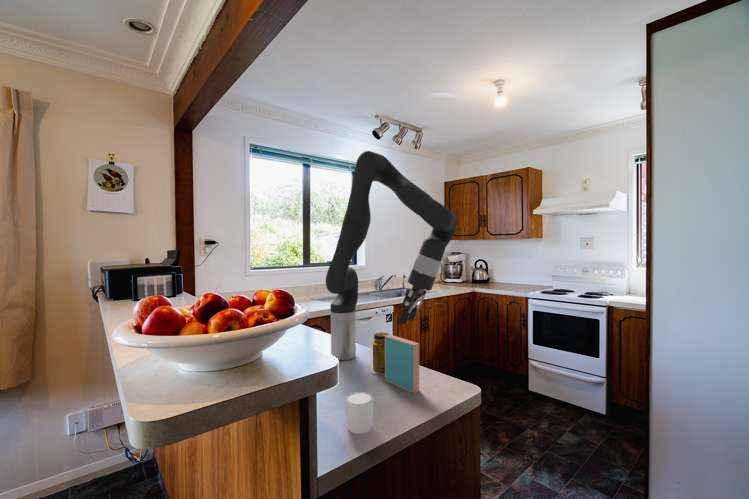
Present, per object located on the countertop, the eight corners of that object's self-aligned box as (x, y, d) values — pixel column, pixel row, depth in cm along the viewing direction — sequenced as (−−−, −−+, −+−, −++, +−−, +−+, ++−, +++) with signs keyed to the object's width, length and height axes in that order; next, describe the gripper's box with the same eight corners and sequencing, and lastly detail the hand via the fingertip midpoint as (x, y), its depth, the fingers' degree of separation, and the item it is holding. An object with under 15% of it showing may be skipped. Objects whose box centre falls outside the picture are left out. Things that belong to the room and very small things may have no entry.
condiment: (371, 365, 118) (370, 331, 117) (395, 364, 119) (395, 330, 118) (373, 374, 110) (372, 337, 110) (398, 373, 111) (398, 337, 111)
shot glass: (339, 430, 79) (339, 401, 79) (354, 416, 85) (354, 389, 85) (365, 438, 76) (365, 407, 75) (379, 423, 82) (379, 394, 81)
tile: (389, 378, 107) (389, 334, 107) (419, 390, 99) (419, 343, 98) (384, 380, 106) (384, 335, 105) (414, 393, 97) (413, 345, 96)
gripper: (418, 268, 111) (401, 315, 111) (406, 266, 97) (387, 319, 98) (440, 277, 108) (422, 324, 108) (430, 275, 94) (410, 330, 95)
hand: (406, 322), depth 103 cm, fingers open, 8 cm apart
